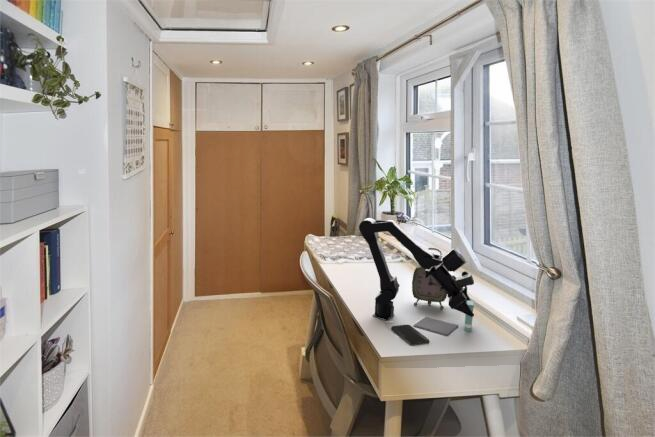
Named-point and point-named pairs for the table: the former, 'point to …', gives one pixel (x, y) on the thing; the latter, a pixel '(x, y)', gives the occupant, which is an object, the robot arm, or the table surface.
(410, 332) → the phone
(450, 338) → the table surface
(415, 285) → the tabletop clock
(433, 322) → the felt mat
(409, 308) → the table surface
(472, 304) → the box
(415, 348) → the table surface
